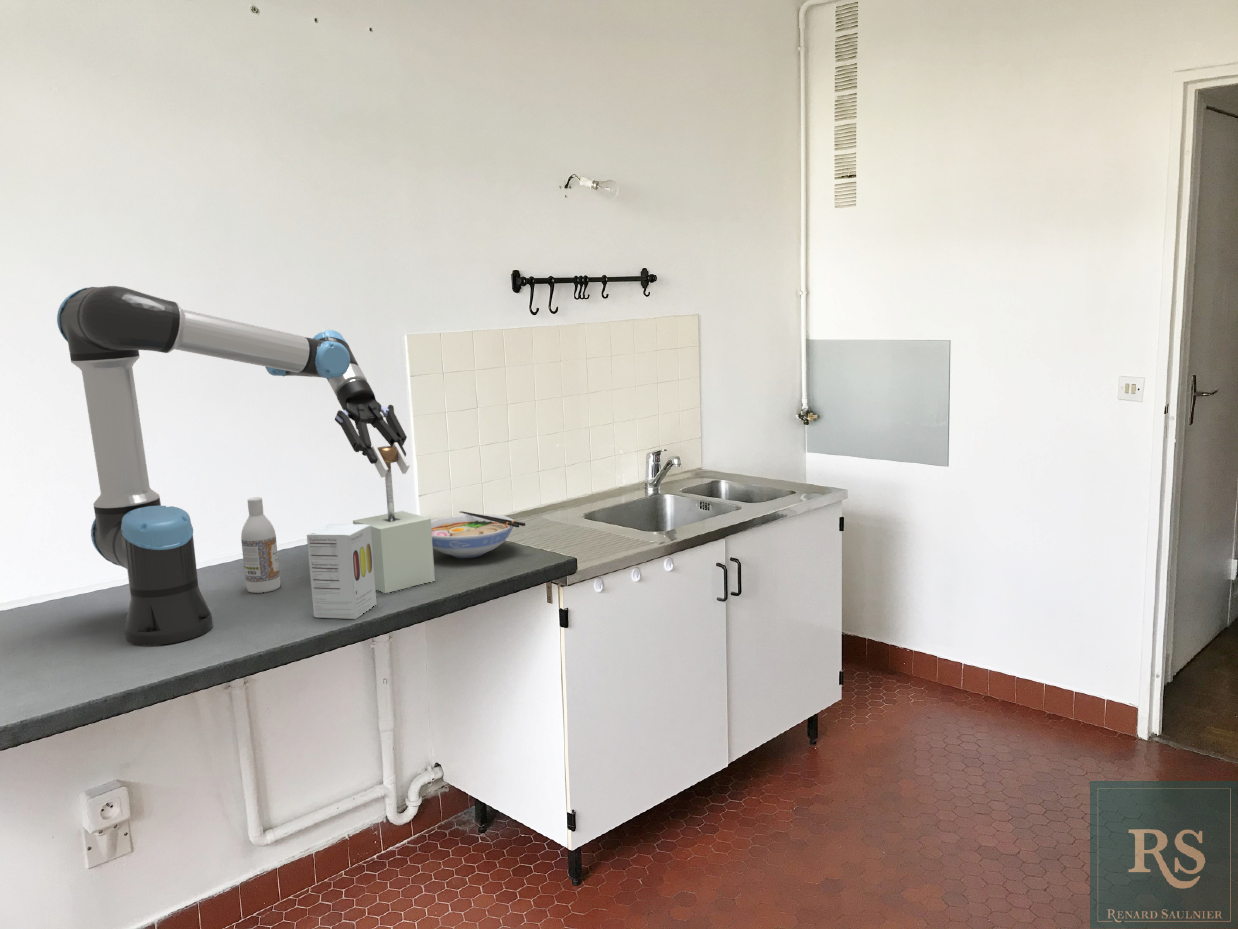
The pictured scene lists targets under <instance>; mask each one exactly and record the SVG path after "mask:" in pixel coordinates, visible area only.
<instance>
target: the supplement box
mask: <svg viewBox="0 0 1238 929" xmlns="http://www.w3.org/2000/svg"><path fill="white" fill-rule="evenodd" d="M306 543H307V553H308V554H307V555H308V564H309V576H310V586H311V589H310V590H311V597H312V599H311V600H312V609H313V610H312V611H313V618H321V619H323V618H324V619H325V618H327V619H343V620H345V619H346V620H357V619H358V618H359V617H361V616H363V615H364V614H365V613H367V612H369V611H370V610H372V609H373V608H374V607H376V606H377V594H376V592H377V591H376V590H375V578H374V565H373V552H372V538H371V526H370V525H366V524H353V523H351V524H349V523H348V524H347V523H345V524H343V523H330V524H327V525H325V526H323V527H322V528H319V529H316V530H315V531H312V532H310V533H307V535H306ZM375 605H376V606H375ZM373 606H374V607H373ZM372 607H373V608H372ZM369 609H370V610H369ZM366 611H367V612H366ZM363 613H364V614H363Z"/></svg>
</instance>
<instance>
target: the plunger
mask: <svg viewBox="0 0 1238 929" xmlns="http://www.w3.org/2000/svg"><path fill="white" fill-rule="evenodd" d="M376 447H377V446H376ZM377 448H378V450H379V452H380V454H381V456H382V458H383V460H384V462H385V464H386V466H387V468H388V471H387V473H386V475H385V477H384V480H385V482H384V483H385V496H386V506H387V507H386V509H387V514H388V522H391V521H395V513H394V512H395V504H394V503H395V502H394V490H393V489H394V488H393V475H392V464H393V463H397V461H398V458H397V447H396V446H390V445H384V446H378V447H377Z"/></svg>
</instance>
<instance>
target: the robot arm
mask: <svg viewBox="0 0 1238 929" xmlns="http://www.w3.org/2000/svg"><path fill="white" fill-rule="evenodd" d="M56 324H57V328H58V331H59V333H60V334H61V335H62V337H63V339H64V340H65V341H66V342H67V345H68V352H69V358H70V363H71V364H73V365H74V366H75V367H77V368H78V369H79V370H81V371H80V372H81V375H82V382H83V387H84V388H83V389H84V394H85V401H86V407H87V413H88V420H89V426H90V432H91V434H90V435H91V440H92V447H93V453H94V459H95V464H96V465H95V466H96V471H97V476H98V477H97V478H98V485H99V491H100V495H99V496H98V497H97V499H96V500H95V501H94V502H93V504H92V505H93V511H94V517H95V518H94V519H93V522H92V525H91V529H90V538H91V542H92V544H93V547H94V549H95V550H96V551H97V553H99V555H100V556H101V557H103V559H105V560H106V561H107V562H109V563H111V564H113V565H116V566H119V567H122V568H125V569H126V571H127V579H128V585H129V591H130V592H129V593H130V601H129V605H128V610H127V615H126V618H125V624H124V628H123V631H124V637H125V638H124V639H125V641H126V642H127V643H129V644H131V645H136V646H162V645H163V646H164V645H170V644H174V643H179V642H184V641H188V640H191V639H195V638H198V637H199V636H202V635H204V634H206V633H208V632H209V631H210V630H211V629H212V628H213V625H214V622H213V621H214V620H213V616H212V612H211V610H210V608H209V606H208V603H207V602H206V600H205V598H204V596H203V594H202V592H201V590H200V587H199V580H198V569H197V561H196V552H195V550H196V549H195V540H194V527H193V524H192V521H191V517H190V514H189V512H187V511H186V510H184V509H183V508H180V507H177V506H174V505H173V506H166V505H162V503H161V496H160V494H159V493H157V492H156V491H155V490H154V489H152V488H151V487H150V480H149V474H148V467H147V460H146V452H145V445H144V439H143V432H142V426H141V417H140V411H139V410H140V409H139V404H138V398H137V391H136V383H135V380H134V379H135V378H134V377H135V376H134V371H133V367H134V364H135V363H136V362H137V361H138V360H139V359H140V351H148V352H149V351H150V352H151V351H152V352H157V353H163V354H169V353H171V352H172V351H173V350H177V351H181V352H188V353H192V354H196V355H197V354H199V355H203V356H207V357H208V356H209V357H212V358H213V357H214V358H218V359H219V358H220V359H224V360H228V361H235V362H239V363H244V364H250V365H257V366H260V367H265V370H266V372H267V373H268V374H270V375H271V376H274V377H275V376H277V377H286V376H287V377H294V376H295V377H310V378H325V379H327V382H328V384H329V385H330V387H331V389H332V391H333V392H334V395H335V396H336V399H337V402H338V403H339V404H340V406H341V409H342V410H339V409H338V410H337V413H336V415H335V418H334V422H336V423H337V424H338V425H339V426H341V427H340V428H342V431H343V433H344V435H345V436H346V438H347V440H348V442H349V444H350V446H351V447H352V449H353V451H354V452H355V453H359V452H361V454H362V455H363V456H366V458H367V459H368V461H369V463H370V464H372V465H374V466H375V469H376V471H377V472H378V474H379V477H380V478H381V479H382V478H385V475H386V473H387V471H388V468H387V466H386V464H385V462H384V460H383V458H382V456H381V454H380V452H379V450H378V448H377V445H376V444H375V445H372V441H371V438H370V437H371V436H370V432H369V428H368V425H371V427H373V428H374V429H376V430H377V431H378V433H380V435H381V436H382V437H383V438H384V439H385V441H386V442H387V443H388V444H389V446H396V447H397V458H398V461H397V462H396V464H397V466H398V467H399V469H400V471H401V473H402V475H406V474H407V472H408V471H409V468H410V467H411V465H410V463H409V461H408V459H407V458H406V456H407V452H406V450H405V448H404V445H405V442H406V441H407V437H408V436H407V435H406V433H405V430H404V429H403V427H402V425H401V423H400V421H399V419H398V417H397V415H396V413H395V408H394V405H392V404H388V406H383V405H382V404H381V403H380V402H379V401H378V400H377V399H376V395H375V392H374V391H373V389H372V387H371V385H370V384H369V382H368V380H367V377H366V376H365V374H364V372H363V370H362V369H361V367H360V366H359V364H358V361H357V360H356V358H355V355H354V354H353V351H352V350H351V347H350V345H349V343H348V342H347V341H346V340H345V338H344V337H343V334H341V333H340V332H338V331H337V330H333V329H327V330H325V331H324V332H322V331H320V332H318V333H317V334H316V335H315V336H313V338H311V337H306V336H302V335H299V334H293V333H291V332H290V333H289V332H284V331H280V330H276V329H271V328H268V327H262V326H258V325H254V324H249V323H244V322H240V321H236V320H231V319H226V318H223V317H218V316H213V315H208V314H205V313H200V312H196V311H192V310H187V309H183V308H182V307H181V306H180V305H179V303H178V302H176V301H172V300H168V299H163V298H161V297H157V296H154V295H150V294H148V293H147V294H146V293H143V292H140V291H139V290H138V291H137V290H135V289H131V288H127V287H124V286H118V285H117V286H116V285H108V286H107V285H106V286H98V287H97V286H90V287H89V286H88V287H83V288H81V289H78V290H76V291H74V292H72V293H70V294H69V295H67V297H65V298H64V300H63V301H62V303H61V304H60V305H59V308H58V309H57V315H56ZM384 418H385V419H384ZM351 420H352V421H353V422H354V423H355V424H354V425H353V423H352V421H351ZM367 424H368V425H367ZM354 426H355V427H354Z"/></svg>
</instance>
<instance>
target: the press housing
mask: <svg viewBox="0 0 1238 929" xmlns="http://www.w3.org/2000/svg"><path fill="white" fill-rule="evenodd" d="M394 513H395V521H391V522H388V513H384V514H380V515H374V516H370V517H365V518H359V519H355V520H352V524H366V525H370V526H371V538H372V552H373V565H374V578H375V589H377V590H379V591H381V592H385V593H386V592H391V591H395V590H397V589H404V588H407V587H410V586H413V585H419V584H423V583H427V582H431V583H433V582H432V581H435V582H436V578H435V560H434V548H433V546H432V532H431V521H432V519H431V518H429V517H425V516H423V515H419V514H415V513H411V512H408V511H404V510H400V511H394ZM427 584H428V583H427ZM423 585H424V584H423ZM419 586H420V585H419ZM404 590H405V589H404ZM379 591H378V592H379ZM381 592H380V593H381Z"/></svg>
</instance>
